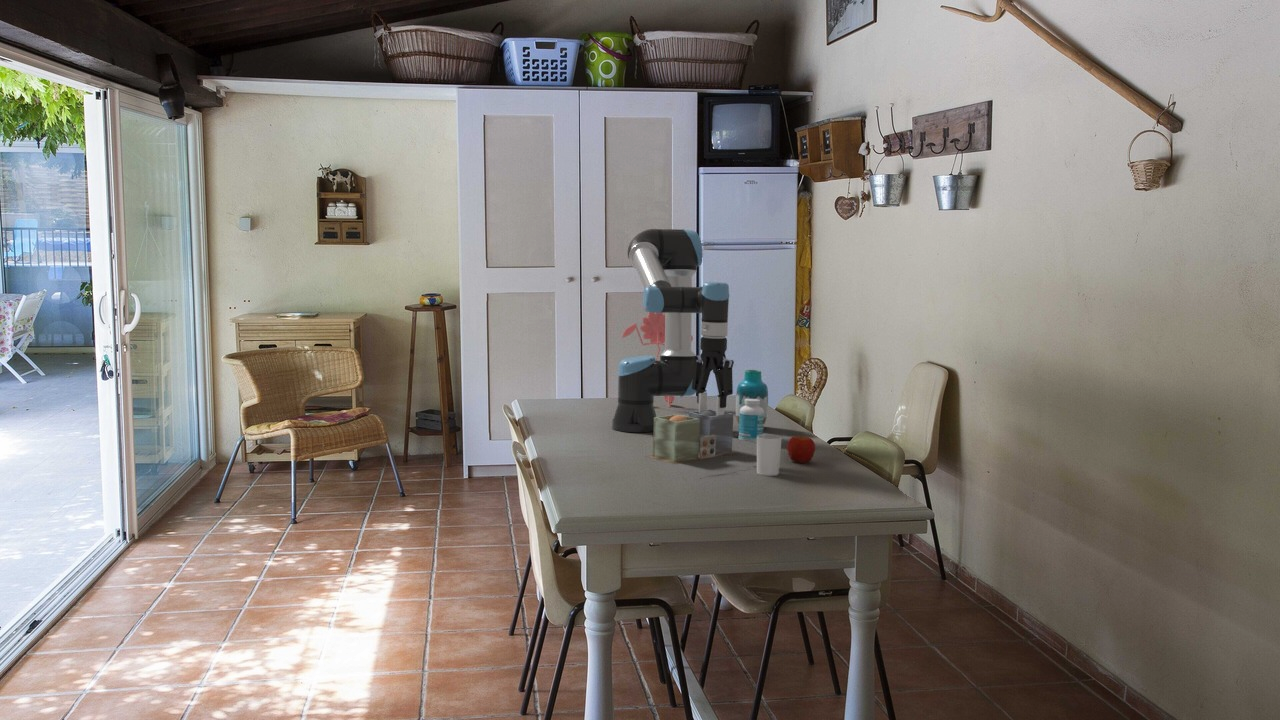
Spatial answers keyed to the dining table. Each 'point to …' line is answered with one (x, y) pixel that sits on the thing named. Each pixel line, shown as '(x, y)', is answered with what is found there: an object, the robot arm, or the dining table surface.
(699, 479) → the dining table surface
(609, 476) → the dining table surface
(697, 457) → the rack
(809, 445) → the apple
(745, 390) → the vase
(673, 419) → the loose terracotta ball
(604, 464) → the dining table surface
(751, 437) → the pill bottle
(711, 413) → the loose charcoal ball
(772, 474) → the drinking glass
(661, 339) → the pink flower drawing
